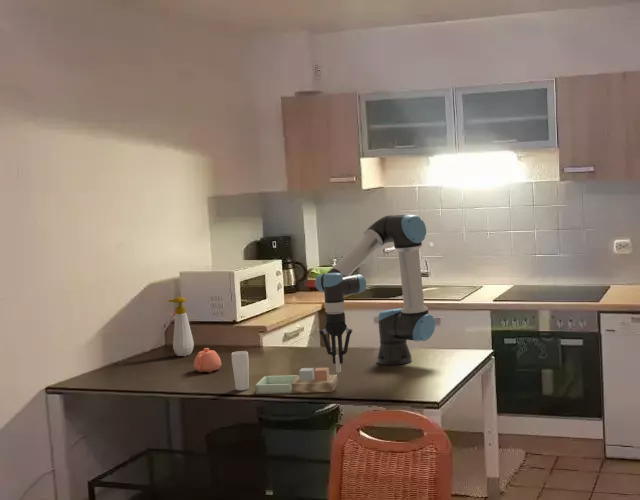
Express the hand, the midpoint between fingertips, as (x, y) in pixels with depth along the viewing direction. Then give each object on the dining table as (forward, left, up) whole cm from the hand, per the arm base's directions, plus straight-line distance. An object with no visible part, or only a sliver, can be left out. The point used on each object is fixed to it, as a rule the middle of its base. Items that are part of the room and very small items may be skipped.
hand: (338, 371), depth 366 cm
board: (+10, 0, -6) cm, 12 cm away
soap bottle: (+90, -74, -7) cm, 116 cm away
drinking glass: (+40, -1, -7) cm, 40 cm away
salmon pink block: (+7, 0, -3) cm, 7 cm away
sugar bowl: (+66, -37, -7) cm, 76 cm away
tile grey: (+13, 0, -3) cm, 13 cm away
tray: (+25, 0, -6) cm, 26 cm away
